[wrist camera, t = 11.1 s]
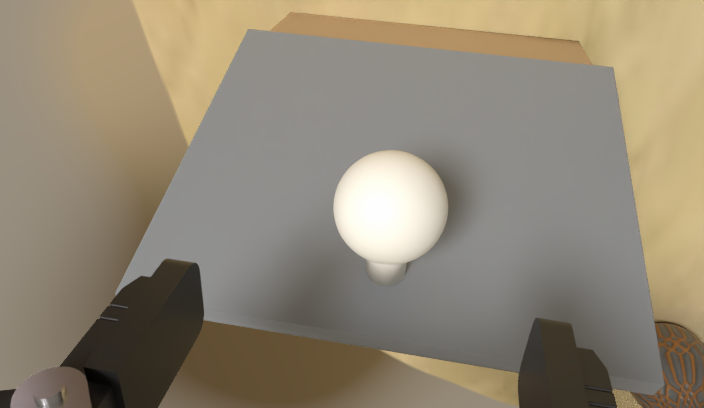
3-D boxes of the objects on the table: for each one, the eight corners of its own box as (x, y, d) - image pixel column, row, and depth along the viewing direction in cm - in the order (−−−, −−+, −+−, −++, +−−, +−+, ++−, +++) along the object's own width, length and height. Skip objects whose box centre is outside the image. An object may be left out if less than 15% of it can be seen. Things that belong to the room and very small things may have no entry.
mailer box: (578, 41, 39) (601, 80, 32) (527, 235, 47) (537, 298, 41) (290, 12, 41) (255, 43, 35) (290, 202, 50) (263, 256, 43)
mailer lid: (607, 81, 32) (657, -39, 27) (653, 395, 21) (756, 298, 16) (250, 43, 35) (231, -74, 29) (122, 306, 23) (52, 195, 18)
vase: (615, 311, 50) (640, 391, 43) (704, 308, 48) (746, 390, 41) (612, 368, 53) (635, 451, 46) (696, 367, 52) (734, 453, 44)
